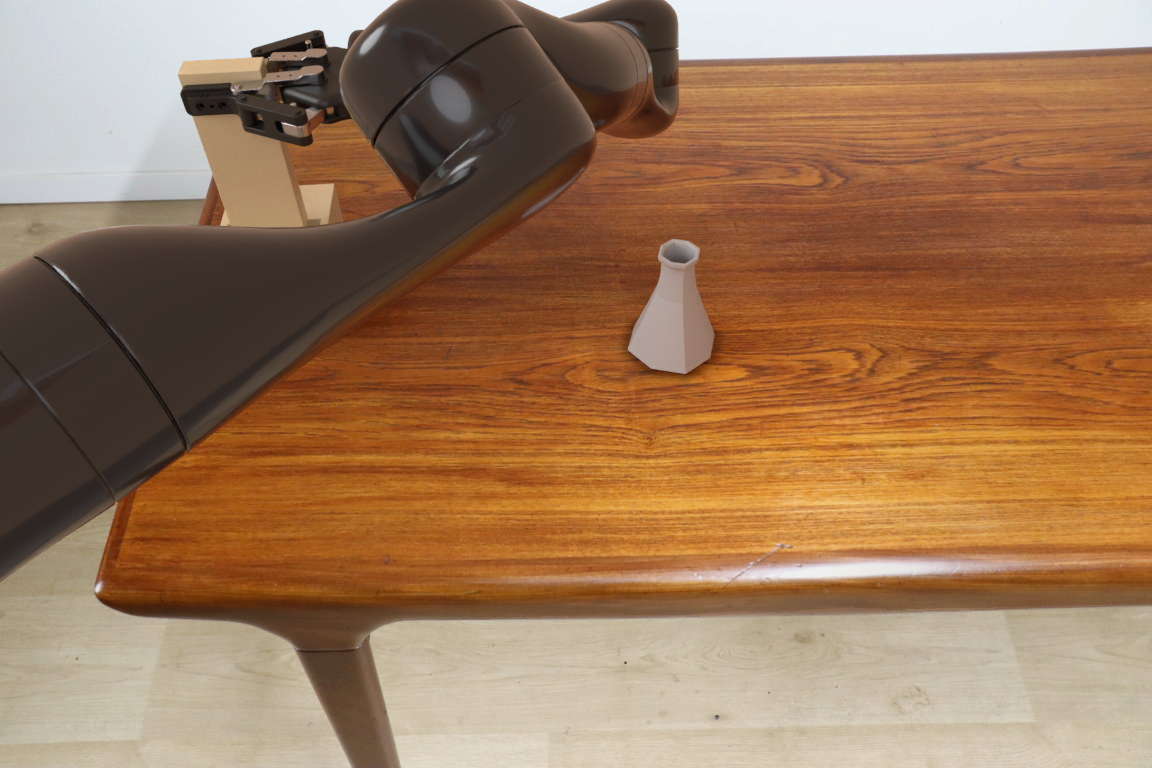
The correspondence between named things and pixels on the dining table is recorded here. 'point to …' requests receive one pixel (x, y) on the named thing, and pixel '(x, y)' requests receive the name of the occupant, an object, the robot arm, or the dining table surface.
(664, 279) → the flask
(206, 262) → the robot arm
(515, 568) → the dining table surface
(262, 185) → the tall tan wooden block
